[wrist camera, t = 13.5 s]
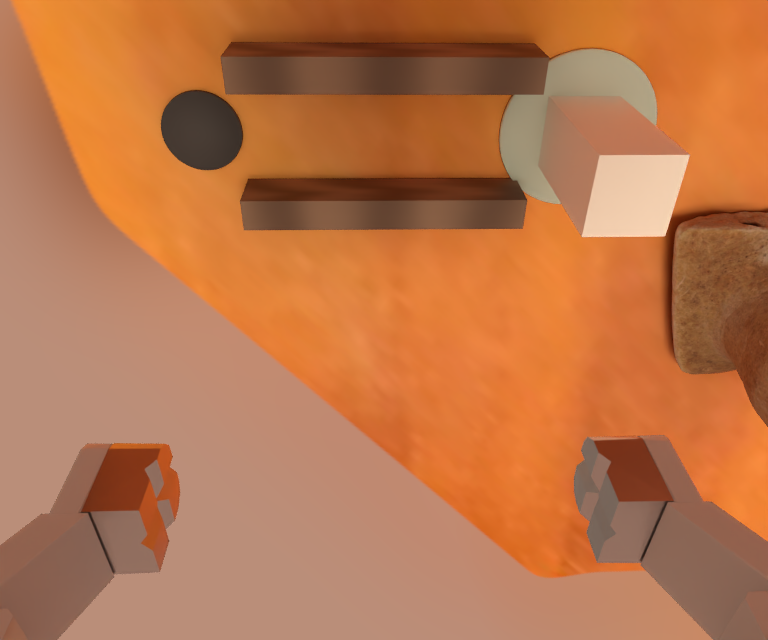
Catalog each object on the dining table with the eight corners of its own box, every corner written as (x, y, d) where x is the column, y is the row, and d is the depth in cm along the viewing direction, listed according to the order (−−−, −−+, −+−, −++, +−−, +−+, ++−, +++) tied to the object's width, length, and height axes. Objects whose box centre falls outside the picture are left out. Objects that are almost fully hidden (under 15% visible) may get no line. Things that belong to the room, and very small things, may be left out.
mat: (474, 101, 39) (475, 103, 39) (629, 15, 36) (631, 16, 36) (532, 225, 44) (533, 228, 44) (671, 157, 42) (674, 159, 41)
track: (251, 206, 43) (244, 230, 40) (231, 42, 37) (220, 56, 34) (511, 205, 43) (522, 228, 40) (534, 43, 37) (549, 57, 34)
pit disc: (145, 116, 39) (144, 117, 39) (208, 74, 38) (208, 76, 37) (197, 181, 41) (196, 183, 41) (258, 144, 40) (257, 146, 40)
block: (538, 165, 41) (581, 236, 33) (548, 96, 39) (599, 155, 30) (605, 165, 41) (665, 236, 33) (620, 96, 39) (689, 154, 31)
